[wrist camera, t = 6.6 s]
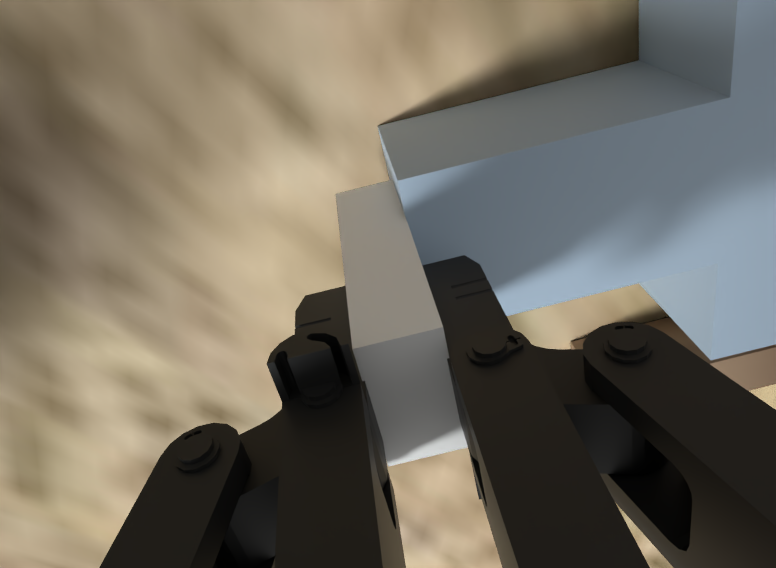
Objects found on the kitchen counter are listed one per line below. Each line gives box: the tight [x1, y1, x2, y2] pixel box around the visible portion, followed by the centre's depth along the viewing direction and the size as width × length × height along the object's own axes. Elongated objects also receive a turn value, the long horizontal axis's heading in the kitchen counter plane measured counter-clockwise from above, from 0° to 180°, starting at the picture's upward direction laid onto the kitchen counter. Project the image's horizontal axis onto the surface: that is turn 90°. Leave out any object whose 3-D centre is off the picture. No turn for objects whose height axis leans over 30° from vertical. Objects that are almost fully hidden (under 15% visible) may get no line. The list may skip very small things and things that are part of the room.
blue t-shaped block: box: [378, 0, 776, 360], centre depth 15 cm, size 10×10×4 cm
